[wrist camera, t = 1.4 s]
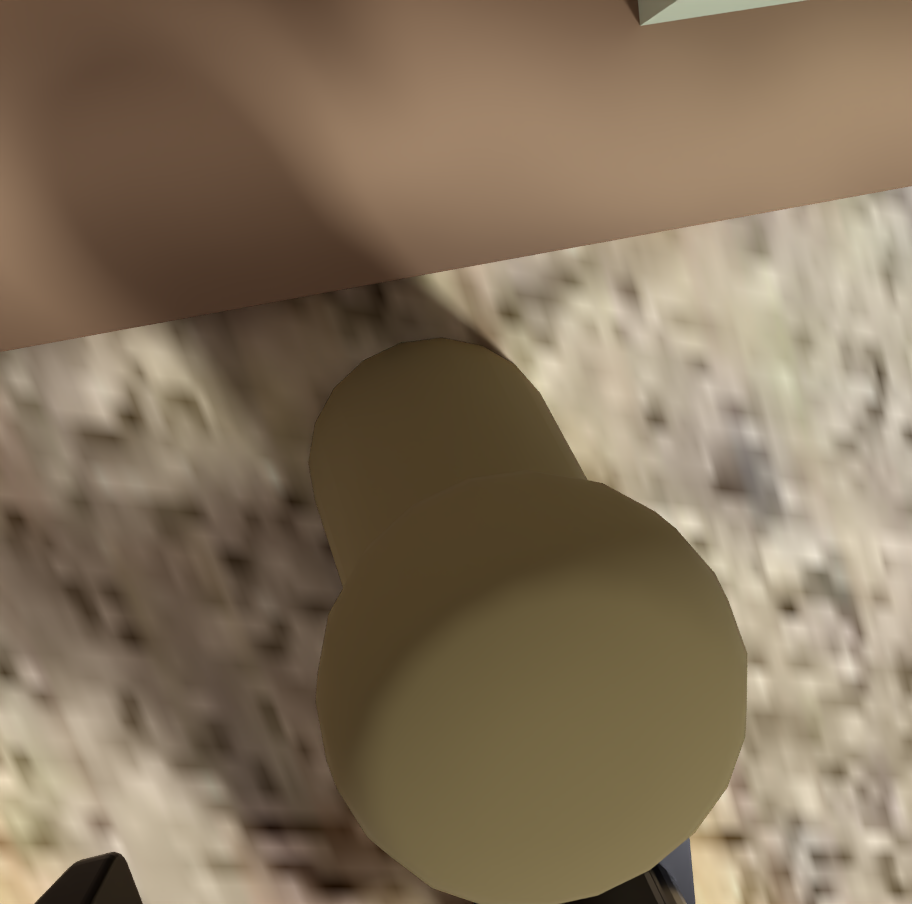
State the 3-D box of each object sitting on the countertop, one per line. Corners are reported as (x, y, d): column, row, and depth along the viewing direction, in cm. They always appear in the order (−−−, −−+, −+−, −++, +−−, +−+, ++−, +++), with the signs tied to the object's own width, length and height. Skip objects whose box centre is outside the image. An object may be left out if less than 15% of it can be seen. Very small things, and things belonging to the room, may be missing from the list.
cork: (357, 299, 17) (391, 410, 6) (595, 387, 18) (943, 596, 8) (275, 539, 18) (190, 961, 8) (503, 604, 19) (695, 1034, 9)
